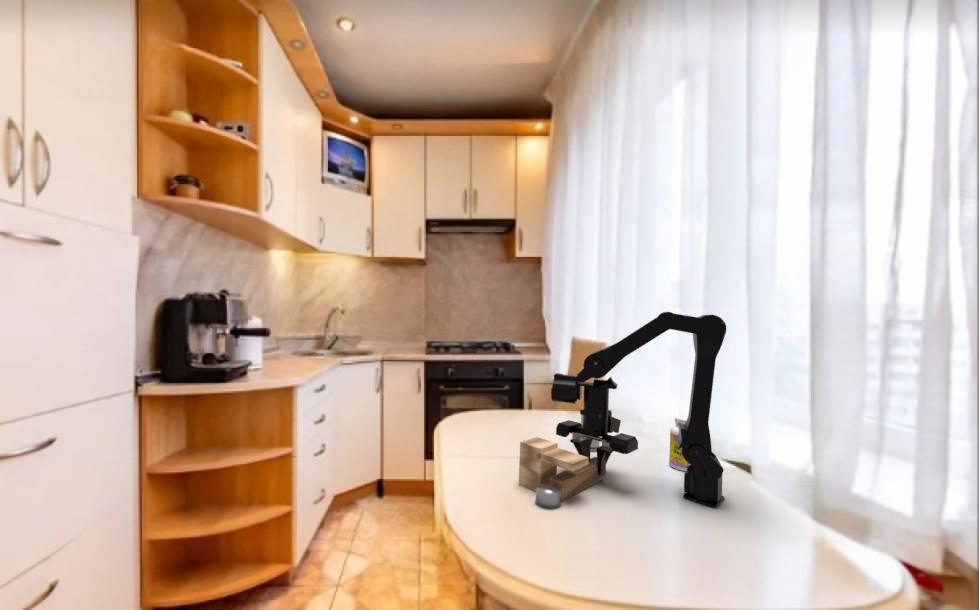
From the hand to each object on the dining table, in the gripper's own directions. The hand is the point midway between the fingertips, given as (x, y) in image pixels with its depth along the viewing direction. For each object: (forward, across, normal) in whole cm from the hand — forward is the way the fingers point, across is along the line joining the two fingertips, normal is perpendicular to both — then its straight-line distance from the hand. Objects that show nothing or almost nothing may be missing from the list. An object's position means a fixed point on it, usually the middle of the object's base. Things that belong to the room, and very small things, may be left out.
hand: (593, 472), depth 97 cm
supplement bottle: (+2, -11, -26) cm, 28 cm away
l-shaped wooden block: (+2, +3, +12) cm, 13 cm away
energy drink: (+2, +13, -20) cm, 24 cm away
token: (+2, 0, +18) cm, 18 cm away
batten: (+2, 0, +6) cm, 6 cm away
